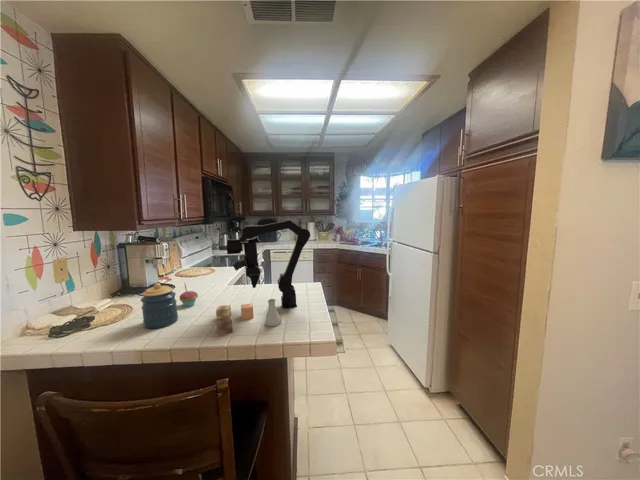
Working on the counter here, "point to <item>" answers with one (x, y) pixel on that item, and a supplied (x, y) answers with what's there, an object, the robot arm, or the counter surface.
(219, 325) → the walnut block
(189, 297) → the cupcake
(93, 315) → the counter surface
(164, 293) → the canister
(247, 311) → the terracotta block
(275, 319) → the flask
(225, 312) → the maple block
